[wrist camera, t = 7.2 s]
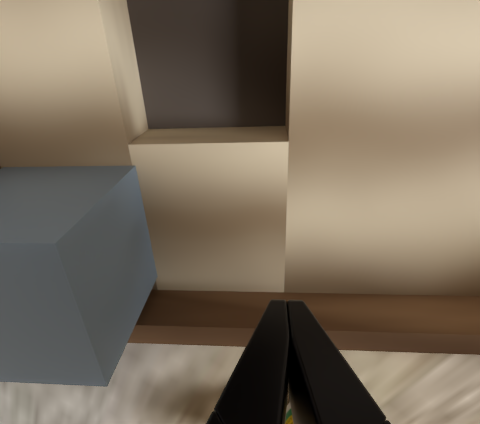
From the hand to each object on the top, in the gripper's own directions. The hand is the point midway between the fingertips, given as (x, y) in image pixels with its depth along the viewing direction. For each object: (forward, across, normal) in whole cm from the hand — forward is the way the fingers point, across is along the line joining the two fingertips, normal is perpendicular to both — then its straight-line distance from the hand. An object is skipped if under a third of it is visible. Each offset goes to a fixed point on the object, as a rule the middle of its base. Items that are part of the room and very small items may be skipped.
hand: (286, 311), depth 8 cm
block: (+4, +8, 0) cm, 9 cm away
